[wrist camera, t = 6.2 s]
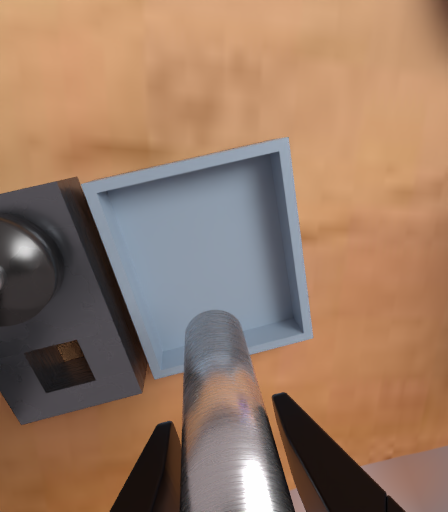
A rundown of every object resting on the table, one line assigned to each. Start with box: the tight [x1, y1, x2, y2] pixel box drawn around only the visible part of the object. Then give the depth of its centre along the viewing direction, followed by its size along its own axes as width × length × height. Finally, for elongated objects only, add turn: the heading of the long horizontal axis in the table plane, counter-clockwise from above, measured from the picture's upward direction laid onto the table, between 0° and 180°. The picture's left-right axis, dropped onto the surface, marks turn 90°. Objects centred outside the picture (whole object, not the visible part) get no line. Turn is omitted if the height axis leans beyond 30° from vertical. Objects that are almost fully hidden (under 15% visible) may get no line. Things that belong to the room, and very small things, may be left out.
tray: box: [81, 137, 313, 379], centre depth 19 cm, size 11×13×2 cm
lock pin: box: [179, 310, 295, 512], centre depth 8 cm, size 4×4×9 cm
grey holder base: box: [0, 177, 148, 425], centre depth 17 cm, size 8×14×5 cm, turn 12°
